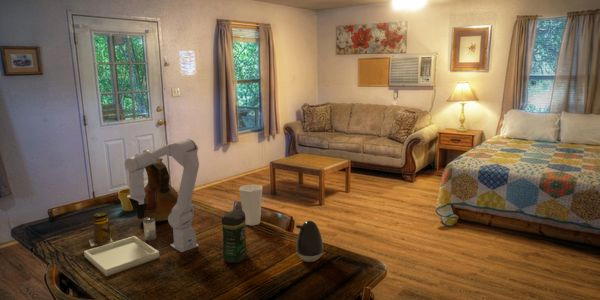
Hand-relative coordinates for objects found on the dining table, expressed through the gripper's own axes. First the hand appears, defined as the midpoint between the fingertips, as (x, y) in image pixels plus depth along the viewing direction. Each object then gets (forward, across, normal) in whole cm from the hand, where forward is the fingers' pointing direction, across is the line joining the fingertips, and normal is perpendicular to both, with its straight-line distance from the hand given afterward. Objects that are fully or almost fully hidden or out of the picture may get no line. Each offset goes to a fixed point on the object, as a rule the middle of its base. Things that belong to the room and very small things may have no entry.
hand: (138, 215), depth 177 cm
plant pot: (+12, -43, +4) cm, 45 cm away
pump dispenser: (+8, +57, +49) cm, 76 cm away
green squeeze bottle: (+9, +40, +26) cm, 49 cm away
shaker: (+10, +2, +4) cm, 11 cm away
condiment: (+12, -7, -15) cm, 20 cm away
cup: (+9, +11, +48) cm, 50 cm away
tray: (+10, +14, -10) cm, 20 cm away
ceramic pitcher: (+11, -18, +14) cm, 26 cm away
